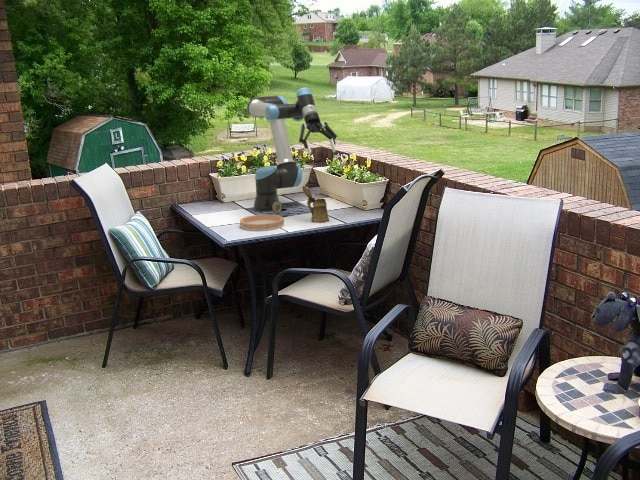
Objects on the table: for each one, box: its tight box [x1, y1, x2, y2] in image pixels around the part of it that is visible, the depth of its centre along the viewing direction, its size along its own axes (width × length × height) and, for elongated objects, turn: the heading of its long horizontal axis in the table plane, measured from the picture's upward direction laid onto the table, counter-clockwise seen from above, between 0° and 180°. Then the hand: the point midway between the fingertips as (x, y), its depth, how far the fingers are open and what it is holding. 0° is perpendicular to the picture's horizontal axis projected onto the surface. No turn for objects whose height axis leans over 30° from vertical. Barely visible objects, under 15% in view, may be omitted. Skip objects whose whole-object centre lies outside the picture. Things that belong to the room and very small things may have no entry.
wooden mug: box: [302, 185, 330, 224], centre depth 360 cm, size 9×14×18 cm, turn 71°
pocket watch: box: [272, 197, 289, 218], centre depth 375 cm, size 8×8×10 cm
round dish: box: [239, 214, 285, 232], centre depth 356 cm, size 22×22×3 cm
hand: (322, 152), depth 349 cm, fingers open, 13 cm apart
